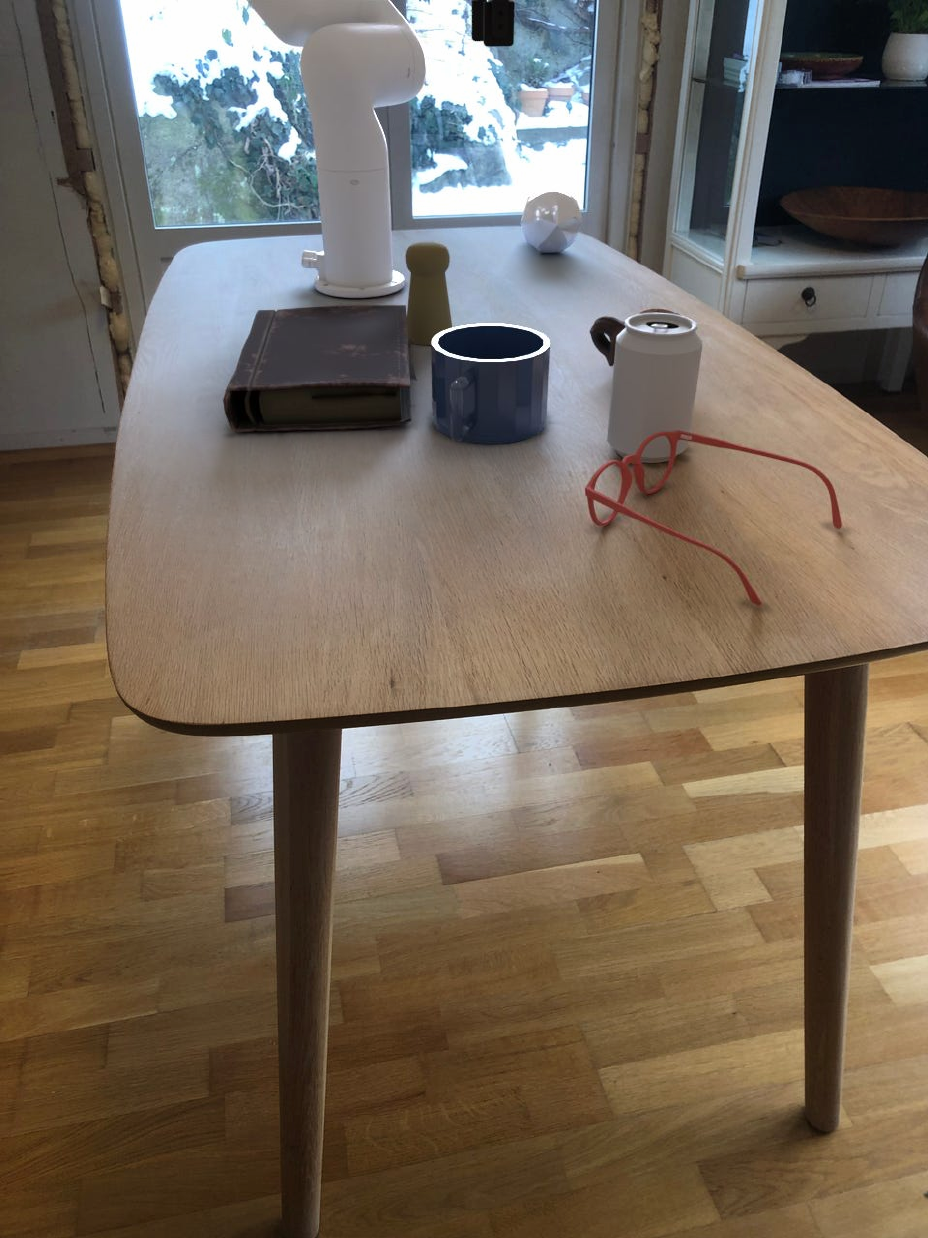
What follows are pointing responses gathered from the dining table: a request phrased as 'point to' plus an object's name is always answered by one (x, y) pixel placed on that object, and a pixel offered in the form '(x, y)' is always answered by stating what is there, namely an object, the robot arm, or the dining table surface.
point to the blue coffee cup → (490, 383)
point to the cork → (427, 291)
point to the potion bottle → (551, 220)
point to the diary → (323, 370)
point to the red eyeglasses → (640, 474)
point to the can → (653, 384)
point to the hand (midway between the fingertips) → (491, 43)
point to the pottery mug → (612, 333)
